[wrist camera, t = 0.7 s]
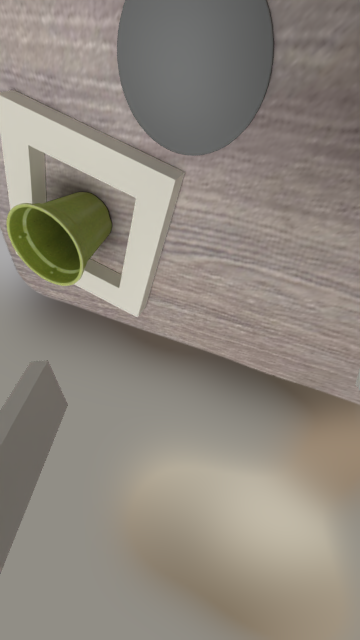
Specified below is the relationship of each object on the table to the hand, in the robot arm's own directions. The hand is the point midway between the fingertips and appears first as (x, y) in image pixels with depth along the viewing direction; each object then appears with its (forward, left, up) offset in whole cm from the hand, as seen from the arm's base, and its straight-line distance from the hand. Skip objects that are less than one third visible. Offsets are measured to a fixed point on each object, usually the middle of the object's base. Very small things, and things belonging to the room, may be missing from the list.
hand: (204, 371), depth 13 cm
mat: (-6, -12, -22) cm, 26 cm away
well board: (+12, -20, -22) cm, 32 cm away
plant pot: (+12, -20, -23) cm, 32 cm away
